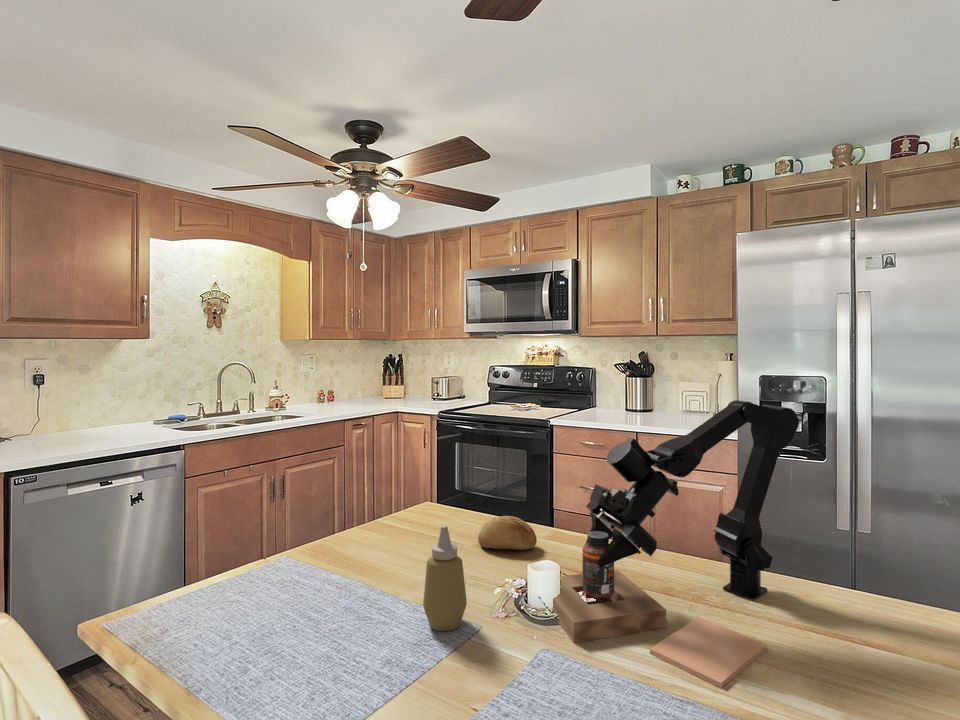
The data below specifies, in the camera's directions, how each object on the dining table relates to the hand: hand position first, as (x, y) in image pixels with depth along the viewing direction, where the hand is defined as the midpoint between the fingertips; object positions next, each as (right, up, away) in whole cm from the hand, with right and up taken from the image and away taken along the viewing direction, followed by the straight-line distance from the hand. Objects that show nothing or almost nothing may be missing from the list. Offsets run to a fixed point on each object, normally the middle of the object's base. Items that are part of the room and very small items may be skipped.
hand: (591, 559), depth 103 cm
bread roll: (-14, -10, +34) cm, 38 cm away
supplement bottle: (+1, -7, 0) cm, 7 cm away
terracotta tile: (+17, -10, -13) cm, 24 cm away
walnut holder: (+1, -10, 0) cm, 10 cm away
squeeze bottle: (-28, -11, -4) cm, 30 cm away
